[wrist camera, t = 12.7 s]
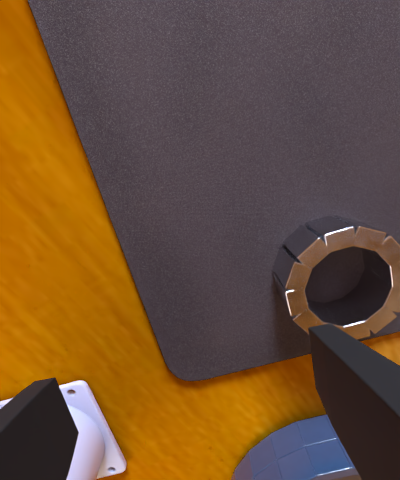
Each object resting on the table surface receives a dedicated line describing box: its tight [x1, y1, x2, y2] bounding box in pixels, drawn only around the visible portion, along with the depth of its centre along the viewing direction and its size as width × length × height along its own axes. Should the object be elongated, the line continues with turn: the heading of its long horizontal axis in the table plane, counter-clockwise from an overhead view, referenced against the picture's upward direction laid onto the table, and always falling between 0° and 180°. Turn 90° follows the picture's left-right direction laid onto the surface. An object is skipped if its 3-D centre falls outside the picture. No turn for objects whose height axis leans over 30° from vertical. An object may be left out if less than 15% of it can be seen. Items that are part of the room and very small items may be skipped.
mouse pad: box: [28, 0, 400, 381], centre depth 15 cm, size 25×21×1 cm
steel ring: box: [272, 215, 400, 340], centre depth 16 cm, size 6×6×3 cm
